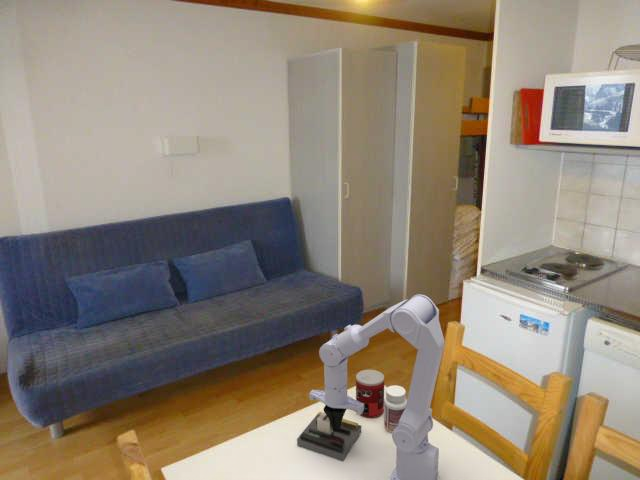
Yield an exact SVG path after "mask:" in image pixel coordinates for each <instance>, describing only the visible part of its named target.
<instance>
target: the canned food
mask: <svg viewBox="0 0 640 480" xmlns="http://www.w3.org/2000/svg"><path fill="white" fill-rule="evenodd" d="M355 400H356V401H358V402H360V403H363V404H364V411H363V412H362V414H359V415H360V416H362V417H364V418H369V419H370V418H371V419H372V418H377V417H380V416H381V415H382V414H383V413H384V400H385V375H384V374H383V373H382V372H381V371H378V370H377V369H376V370H375V369H363V370H360V371H359V372H357V373H356V376H355Z"/></svg>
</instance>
